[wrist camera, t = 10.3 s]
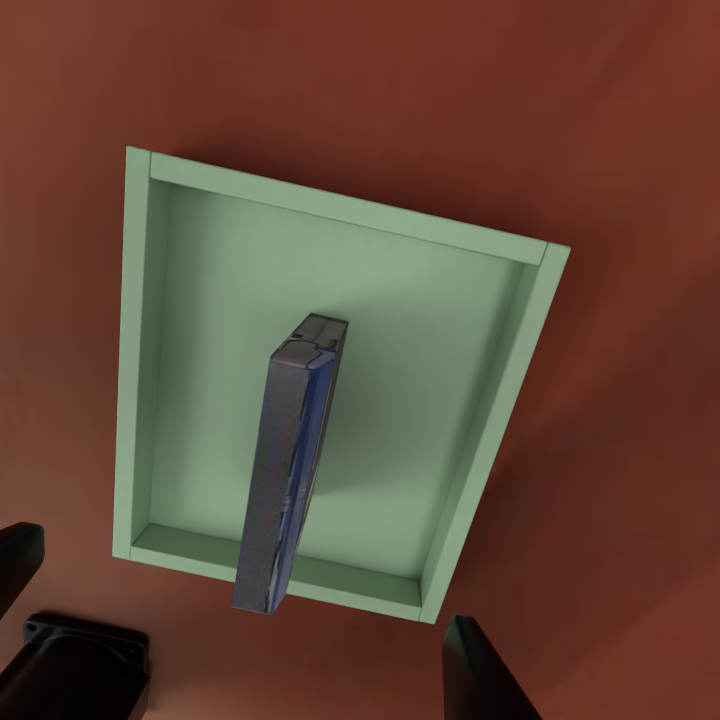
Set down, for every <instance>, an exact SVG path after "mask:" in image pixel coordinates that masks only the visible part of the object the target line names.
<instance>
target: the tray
mask: <svg viewBox="0 0 720 720" xmlns="http://www.w3.org/2000/svg"><path fill="white" fill-rule="evenodd" d="M570 250H571V248H570V247H569V246H565V245H561V244H556V243H552V242H546V241H543V240H539V239H534V238H530V237H526V236H521V235H517V234H513V233H508V232H504V231H499V230H495V229H491V228H486V227H482V226H478V225H473V224H469V223H464V222H460V221H456V220H451V219H447V218H442V217H438V216H434V215H429V214H425V213H421V212H416V211H412V210H407V209H403V208H399V207H394V206H390V205H385V204H381V203H377V202H372V201H368V200H364V199H359V198H355V197H350V196H346V195H342V194H337V193H333V192H329V191H324V190H320V189H315V188H311V187H307V186H302V185H298V184H293V183H289V182H285V181H280V180H276V179H272V178H267V177H263V176H258V175H254V174H250V173H245V172H241V171H236V170H232V169H228V168H223V167H219V166H215V165H210V164H206V163H201V162H197V161H193V160H188V159H184V158H180V157H175V156H171V155H166V154H162V153H158V152H152V151H149V150H145V149H140V148H136V147H132V146H127V148H126V177H125V206H124V235H123V264H122V293H121V322H120V351H119V380H118V409H117V438H116V468H115V497H114V526H113V555H112V556H113V557H118V558H122V559H127V560H132V561H137V562H141V563H146V564H151V565H155V566H160V567H165V568H169V569H174V570H179V571H184V572H188V573H193V574H198V575H202V576H207V577H212V578H216V579H221V580H226V581H231V582H235V579H236V572H237V566H238V559H239V553H240V547H241V540H242V534H243V527H244V521H245V514H246V508H247V501H248V495H249V488H250V482H251V475H252V469H253V463H254V456H255V450H256V443H257V437H258V430H259V424H260V417H261V411H262V404H263V398H264V391H265V385H266V379H267V372H268V366H269V360H270V357H271V355H272V354H273V353H274V352H275V351H276V349H277V348H278V347H279V346H280V345H281V344H282V343H283V342H284V341H285V340H286V339H287V338H288V337H289V335H290V334H291V333H292V332H293V331H294V330H295V329H296V328H297V327H298V326H299V325H300V324H301V322H302V321H303V320H304V319H305V318H306V317H307V316H308V315H309V314H310V313H314V314H319V315H323V316H327V317H332V318H336V319H341V320H345V321H349V325H348V329H347V334H346V339H345V344H344V348H343V353H342V358H341V362H340V367H339V372H338V377H337V381H336V386H335V391H334V396H333V400H332V405H331V410H330V414H329V419H328V424H327V429H326V433H325V438H324V443H323V447H322V452H321V457H320V462H319V466H318V471H317V476H316V480H315V485H314V490H313V494H312V499H311V502H310V506H309V510H308V513H307V517H306V521H305V524H304V528H303V532H302V535H301V539H300V543H299V546H298V550H297V554H296V557H295V561H294V565H293V568H292V572H291V575H290V579H289V583H288V586H287V590H286V593H287V594H292V595H296V596H301V597H306V598H311V599H315V600H320V601H325V602H329V603H334V604H339V605H343V606H348V607H353V608H358V609H362V610H367V611H372V612H376V613H381V614H386V615H390V616H395V617H400V618H405V619H409V620H414V621H418V620H419V621H421V622H426V623H430V624H435V622H436V619H437V616H438V614H439V611H440V608H441V605H442V603H443V600H444V597H445V594H446V591H447V589H448V586H449V583H450V580H451V578H452V575H453V572H454V569H455V567H456V564H457V561H458V558H459V556H460V553H461V550H462V547H463V545H464V542H465V539H466V536H467V534H468V531H469V528H470V525H471V523H472V520H473V517H474V514H475V512H476V509H477V506H478V503H479V501H480V498H481V495H482V492H483V490H484V487H485V484H486V481H487V479H488V476H489V473H490V470H491V468H492V465H493V462H494V459H495V457H496V454H497V451H498V448H499V446H500V443H501V440H502V437H503V435H504V432H505V429H506V426H507V424H508V421H509V418H510V415H511V413H512V410H513V407H514V404H515V402H516V399H517V396H518V393H519V391H520V388H521V385H522V382H523V380H524V377H525V374H526V371H527V369H528V366H529V363H530V360H531V358H532V355H533V352H534V349H535V347H536V344H537V341H538V338H539V336H540V333H541V330H542V327H543V325H544V322H545V319H546V316H547V314H548V311H549V308H550V305H551V303H552V300H553V297H554V294H555V292H556V289H557V286H558V283H559V281H560V278H561V275H562V272H563V270H564V267H565V264H566V261H567V259H568V256H569V253H570Z"/></svg>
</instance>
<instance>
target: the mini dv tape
mask: <svg viewBox="0 0 720 720" xmlns="http://www.w3.org/2000/svg"><path fill="white" fill-rule="evenodd" d="M348 325H349V321H345V320H341V319H336V318H332V317H327V316H323V315H319V314H314V313H310V314H309V315H308V316H307V317H306V318H305V319H304V320H303V321H302V322H301V324H300V325H299V326H298V327H297V328H296V329H295V330H294V331H293V332H292V333H291V334H290V335H289V337H288V338H287V339H286V340H285V341H284V342H283V343H282V344H281V345H280V346H279V347H278V348H277V349H276V351H275V352H274V353H273V354H272V355H271V357H270V360H269V366H268V372H267V379H266V385H265V391H264V398H263V404H262V411H261V417H260V424H259V430H258V437H257V443H256V450H255V456H254V463H253V469H252V475H251V482H250V488H249V495H248V501H247V508H246V514H245V521H244V527H243V534H242V540H241V547H240V553H239V559H238V566H237V572H236V579H235V585H234V592H233V598H232V605H231V607H235V608H240V609H244V610H249V611H254V612H259V613H263V614H268V615H270V614H273V613H274V611H275V610H276V608H277V607H278V605H279V603H280V602H281V600H282V599H283V597H284V596H285V594H286V590H287V586H288V583H289V579H290V575H291V572H292V568H293V565H294V561H295V557H296V554H297V550H298V546H299V543H300V539H301V535H302V532H303V528H304V524H305V521H306V517H307V513H308V510H309V506H310V502H311V499H312V494H313V490H314V485H315V480H316V476H317V471H318V466H319V462H320V457H321V452H322V447H323V443H324V438H325V433H326V429H327V424H328V419H329V414H330V410H331V405H332V400H333V396H334V391H335V386H336V381H337V377H338V372H339V367H340V362H341V358H342V353H343V348H344V344H345V339H346V334H347V329H348Z"/></svg>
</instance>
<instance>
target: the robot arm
mask: <svg viewBox="0 0 720 720" xmlns="http://www.w3.org/2000/svg"><path fill="white" fill-rule="evenodd" d="M44 556H45V546H44V529H43V527H42V526H41V525H38V524H33V523H29V522H19V523H16V524H14V525H11V526H9V527H6V528H4V529H1V530H0V620H1V618H2V617H3V616H4V614H5V613H6V612H7V610H8V609H9V608H10V606H11V605H12V604H13V602H14V601H15V600H16V598H17V597H18V596H19V594H20V593H21V592H22V590H23V589H24V588H25V586H26V585H27V584H28V582H29V581H30V580H31V578H32V577H33V576H34V574H35V573H36V572H37V570H38V569H39V568H40V566H41V564H42V562H43V560H44ZM23 634H24V647H23V648H22V649H21V651H20V652H19V653H18V654H17V655H16V656H15V657H14V659H13V660H12V661H11V662H10V663H9V664H8V665H7V667H6V668H5V669H4V670H3V671H2V672H1V673H0V720H141V719H142V717H143V715H144V713H145V711H146V709H147V705H148V693H149V680H150V678H149V675H148V673H147V661H148V648H149V642H148V640H147V639H146V638H145V637H143V636H141V635H136V634H131V633H127V632H122V631H117V630H112V629H108V628H103V627H98V626H93V625H88V624H84V623H79V622H74V621H69V620H65V619H60V618H55V617H50V616H46V615H41V614H32V615H31V616H30V617H29V618H28V619H27V620H26V621H25V622H24V624H23ZM442 662H443V689H444V715H445V720H543V719H542V718H541V716H540V715H539V713H538V712H537V710H536V709H535V707H534V706H533V704H532V703H531V702H530V700H529V699H528V697H527V696H526V694H525V693H524V691H523V690H522V688H521V687H520V685H519V684H518V682H517V681H516V679H515V678H514V676H513V675H512V673H511V672H510V670H509V669H508V667H507V666H506V664H505V663H504V662H503V660H502V659H501V657H500V656H499V654H498V653H497V651H496V650H495V648H494V647H493V645H492V644H491V642H490V641H489V639H488V638H487V636H486V635H485V633H484V632H483V630H482V629H481V627H480V626H479V625H478V623H477V622H476V620H475V619H474V618H473V617H471V616H466V615H462V614H454V615H453V617H452V619H451V622H450V624H449V627H448V630H447V632H446V635H445V637H444V640H443V646H442Z"/></svg>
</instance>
